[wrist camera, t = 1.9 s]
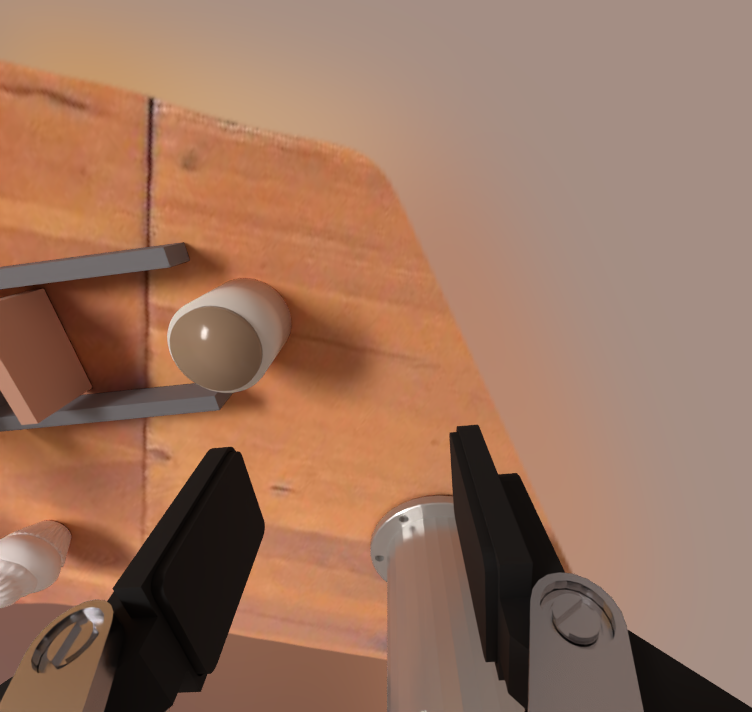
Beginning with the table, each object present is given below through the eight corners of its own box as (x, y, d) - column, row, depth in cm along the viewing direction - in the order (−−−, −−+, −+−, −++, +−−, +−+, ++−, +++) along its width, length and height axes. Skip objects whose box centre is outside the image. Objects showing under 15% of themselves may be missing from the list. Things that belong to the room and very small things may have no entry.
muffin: (98, 532, 36) (35, 605, 30) (70, 562, 38) (5, 637, 32) (37, 497, 34) (-43, 567, 28) (11, 530, 36) (-69, 603, 30)
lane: (183, 242, 25) (137, 253, 20) (232, 393, 29) (204, 430, 25) (-85, 278, 26) (-184, 296, 22) (1, 416, 31) (-66, 455, 26)
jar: (281, 273, 25) (251, 295, 20) (299, 352, 28) (277, 391, 22) (197, 283, 26) (146, 307, 20) (222, 360, 28) (183, 401, 23)
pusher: (43, 288, 26) (-29, 308, 22) (92, 387, 29) (38, 423, 25) (28, 290, 26) (-48, 311, 22) (78, 389, 29) (21, 425, 25)
